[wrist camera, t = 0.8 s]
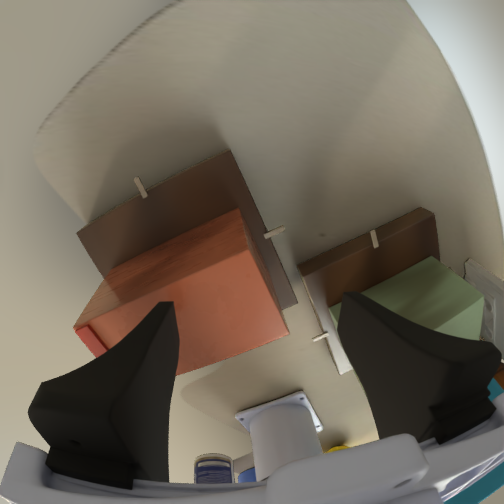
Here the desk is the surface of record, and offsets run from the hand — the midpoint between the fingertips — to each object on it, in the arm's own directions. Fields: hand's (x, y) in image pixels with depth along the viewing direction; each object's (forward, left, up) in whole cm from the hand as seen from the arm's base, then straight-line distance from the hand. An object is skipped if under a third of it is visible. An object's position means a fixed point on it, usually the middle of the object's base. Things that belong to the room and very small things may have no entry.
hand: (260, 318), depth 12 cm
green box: (-10, -9, -8) cm, 16 cm away
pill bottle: (-28, +17, -10) cm, 34 cm away
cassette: (-18, -21, -10) cm, 29 cm away
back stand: (-10, -9, -10) cm, 17 cm away
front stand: (0, +4, -10) cm, 11 cm away
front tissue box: (0, +4, -8) cm, 9 cm away
